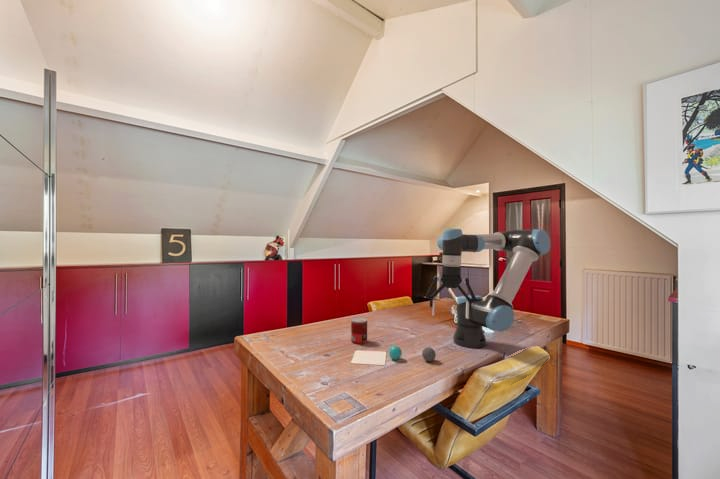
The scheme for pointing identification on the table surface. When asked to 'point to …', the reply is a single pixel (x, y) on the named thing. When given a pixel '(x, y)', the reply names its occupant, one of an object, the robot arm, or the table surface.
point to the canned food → (359, 330)
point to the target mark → (369, 357)
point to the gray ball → (428, 354)
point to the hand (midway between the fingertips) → (449, 316)
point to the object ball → (395, 352)
